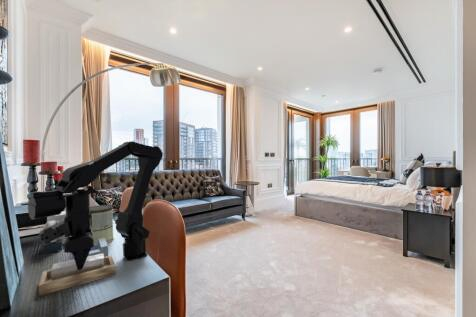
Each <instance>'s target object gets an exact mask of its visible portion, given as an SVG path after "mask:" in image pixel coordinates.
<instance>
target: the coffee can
mask: <svg viewBox="0 0 476 317" xmlns="http://www.w3.org/2000/svg"><path fill="white" fill-rule="evenodd" d="M113 208H114V207H113V205H110V204H102V205H101V204H99V205H93V206H90V214H91V218H90V226H91V232H90V234H91V235H92V236H93V239H94V243H97V242H99V240H98V239H99V238H104V237H105V239H106V242H107V244H109V243H112V242H113V241H114V222H113V221H114V220H113V219H114V218H113ZM86 234H89V233H86Z"/></svg>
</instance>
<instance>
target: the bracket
mask: <svg viewBox="0 0 476 317" xmlns="http://www.w3.org/2000/svg"><path fill="white" fill-rule="evenodd" d="M98 240H99V242H97V243H94V247H92V248H91V250H90V252H89V254H88V256H93V255H98V254H102V253H103V255H104V257H106V256H109V244H108V243H107V242H106V239H105V237H104V238H99V239H98Z"/></svg>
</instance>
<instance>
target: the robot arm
mask: <svg viewBox="0 0 476 317" xmlns="http://www.w3.org/2000/svg"><path fill="white" fill-rule="evenodd" d="M163 155H164V152H163V151H162V149H161V148H160V147H159V146H156V145H155V146H154V145H153V146H151V145H146V144H143V143H138V142H136V141H133V140H132V141H125V142H123V143H122V144H120V145H119V146H117V147H115V148H113V149H111V150H109V151H108V152H106V153H104V154H102V155H100V156H98V157H96V158H94V159H92V160H90V161H87V162H83V163H80V164H77V165H74V166H70V167H68V168H65V169H64V170H63V171H62V174H61V179H60V180H59V181H58V183H57V184H56V185H55V186H54V187H53V189H52V190H46V191H45V190H43V191H32V192H30V197H29V201H28V204H27V211H28V212H27V213H28V216H29V218H30V219H31V220H37V219H42V218H47V217H49V216H54V215H59V214H61V212H62V211H66V216H65V218H64V221H62V222H59V223H57V224H54V225H52V226H50V227H48V228H45V229H43V228H42V229H40V231H39V233H38V236H39V237H40V239H39V240H40V241H41V242H42V244H43V243H44V244H48V243H50V242H51V241H53V240H55V239H57V238H59V237H61V236H63V235H65V237H67V239H66V241H65V243H64V244H63V245H64V246H63V249H64V250H63V251H64V253H66V254H68V253H70V254H72V256H73V260H75V263H76V266H77V269H78V270H80V269H82V268H83V266H84V264H85V261H86V259H87V257H88V254H89V252H90V250H91V248H92V247H94V239H93V236H92V235H91V234H90V232H91V226H90V218H91V214H90V207H91V202H90V195H93V194H94V195H95V194H97V193H99V192H98V190H96V189H95V188H94V187H93V186H92V185H90V184H92V183H93V182H94V181H95V180H97V178H99V176H100V174H102V172H104V171H105V170H107V169H108V168H110V167H112V166H114V165H115V164H117V163H119V162H120V161H122V160H123V159H125V158H127V157H129V156H133V157H136V158H137V164H138V171H137V174H136V177H135V181H134V184H133V187H132V192H131V194H130V197H129V200H128V202H127V203H128V204H127V206H126V208H125V209H124V211H118V213H117V218H116V221H115V222H114V224H115V230H116V231H117V233H119V234H120V236H121V238H123V240H124V242H123V243H122V255H123V256H122V257H124V258H125V259H126V261H131V260H135V259H139V258H143V257H147V256H148V252H147V250H146V246H147V245H146V239H147V238H149V235H150V231H149V230H148V229H147V228H145V227H144V215H143V207H144V203H145V200H146V197H147V193H148V190H149V186H150V183H151V180H152V177H153V172H154V171H155V170H156V168H158V166H159V165H160V163H161V161H162V159H163ZM86 233H89V234H86Z"/></svg>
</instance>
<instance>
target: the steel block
mask: <svg viewBox="0 0 476 317" xmlns="http://www.w3.org/2000/svg"><path fill="white" fill-rule="evenodd" d="M103 267H104V255H103V253H102V254H98V255H93V256H88V257H87V259H86V261H85V264H84V266H83V268H82V269H80V270H78V269H77V266H76V263H75V260H74V259H70V260H65V261H62V262H56V263H53V264H52V268H51V269H52V281H53V280H56V279H60V278H64V277H68V276H72V275H76V274H79V273H83V272H87V271H91V270H95V269H99V268H103Z"/></svg>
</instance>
